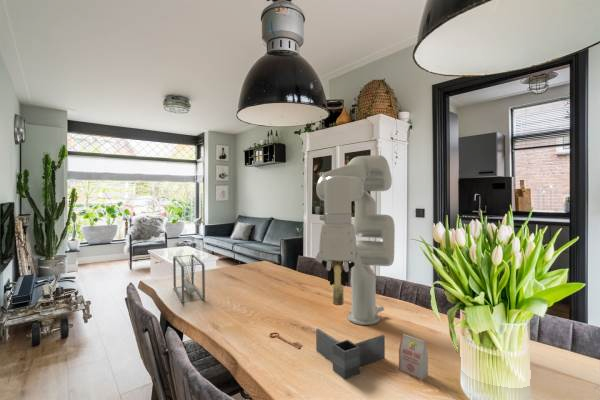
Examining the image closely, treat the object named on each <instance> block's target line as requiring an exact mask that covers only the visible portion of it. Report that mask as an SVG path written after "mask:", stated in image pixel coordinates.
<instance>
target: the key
mask: <svg viewBox="0 0 600 400" xmlns="http://www.w3.org/2000/svg"><path fill="white" fill-rule="evenodd" d="M273 334H274V335H273ZM269 337H270V338H277V339H279V340H281V341H282V342H284V343H287V344H288V345H290V346H292V347H294V348H296V349H297V350H299V349H301V348H302V347H304V344H302V343H300V342H299V341H296V342H291V341H289V340H287V339H286V338H284V337H282V336H280V333H278V332H271V333H270V334H269Z"/></svg>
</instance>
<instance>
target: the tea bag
mask: <svg viewBox="0 0 600 400" xmlns="http://www.w3.org/2000/svg"><path fill="white" fill-rule="evenodd" d="M398 371H400V372H401V373H404V374H406V375H409V376H411V377H413V378H415V379H418V380H420V381H422V380H424V379H425V378H427V377H428V375H429V352H428V349H427V345H426V341H425V340H421V339H420V338H416V337H413V336H411V335H407V334H405V333H402V334H401V339H400V344H399V347H398Z"/></svg>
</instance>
